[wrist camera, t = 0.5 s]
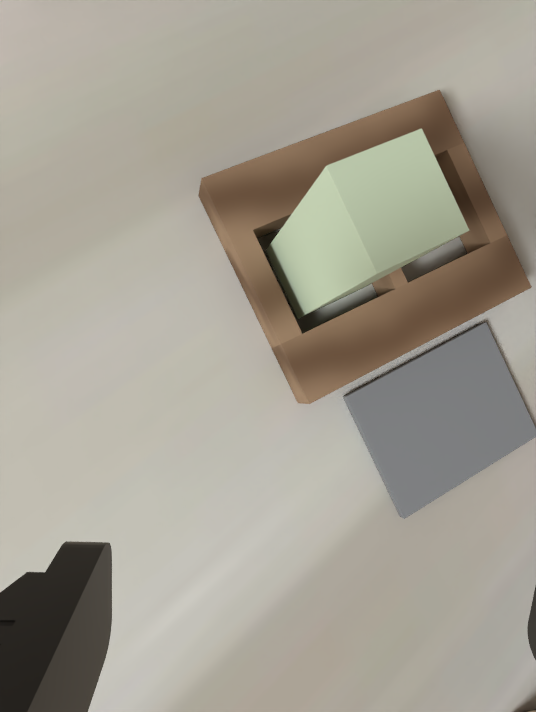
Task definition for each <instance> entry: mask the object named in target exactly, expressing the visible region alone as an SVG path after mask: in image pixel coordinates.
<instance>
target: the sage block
mask: <svg viewBox="0 0 536 712" xmlns="http://www.w3.org/2000/svg"><path fill="white" fill-rule="evenodd" d="M468 231H470V230H469V228H468V226H467V224H466V222H465V220H464V218H463V216H462V213H461V211H460V209H459V207H458V205H457V203H456V201H455V198H454V196H453V194H452V192H451V190H450V188H449V186H448V183H447V181H446V179H445V177H444V175H443V173H442V171H441V168H440V166H439V164H438V162H437V160H436V158H435V156H434V153H433V151H432V149H431V147H430V145H429V143H428V141H427V139H426V136H425V134H424V132H423V130H422V128H421V129H419V130H416V131H414V132H411V133H408V134H406V135H403V136H401V137H398V138H396V139H393V140H391V141H388V142H385V143H383V144H380V145H378V146H375V147H373V148H370V149H368V150H365V151H363V152H360V153H357V154H355V155H352V156H350V157H347V158H345V159H342V160H340V161H337V162H334V163H332V164H329V165H327V166H326V167H325V168H324V170H323V171H322V172H321V174H320V175H319V177H318V178H317V179H316V181H315V182H314V184H313V185H312V186H311V188H310V189H309V191H308V192H307V193H306V195H305V196H304V198H303V199H302V200H301V202H300V203H299V205H298V206H297V207H296V209H295V210H294V212H293V213H292V214H291V216H290V217H289V219H288V220H287V221H286V223H285V224H284V226H283V227H282V228H281V230H280V231H279V233H278V234H277V235H276V237H275V238H274V240H273V241H272V242H271V244H270V245H269V247H268V248H267V249H266V253H267V255H268V258H269V260H270V262H271V264H272V266H273V268H274V270H275V272H276V274H277V276H278V278H279V281H280V283H281V285H282V287H283V289H284V291H285V293H286V295H287V297H288V299H289V301H290V304H291V306H292V308H293V310H294V312H295V314H296V316H297V318H298V319H299V318H301V317H303V316H305V315H307V314H309V313H311V312H314V311H316V310H318V309H320V308H322V307H324V306H326V305H328V304H330V303H333V302H335V301H337V300H339V299H341V298H343V297H345V296H347V295H349V294H352V293H354V292H356V291H358V290H360V289H362V288H364V287H366V286H367V285H369V284H371V283H373V282H375V281H377V280H379V279H380V278H382V277H384V276H386V275H388V274H390V273H392V272H393V271H395V270H397V269H399V268H401V267H403V266H405V265H406V264H408V263H410V262H412V261H414V260H416V259H418V258H419V257H421V256H423V255H425V254H427V253H429V252H431V251H432V250H434V249H436V248H438V247H440V246H442V245H444V244H445V243H447V242H449V241H451V240H453V239H455V238H457V237H458V236H460V235H462V234H464V233H466V232H468Z"/></svg>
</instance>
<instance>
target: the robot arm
mask: <svg viewBox="0 0 536 712" xmlns="http://www.w3.org/2000/svg"><path fill="white" fill-rule="evenodd" d="M111 623H112V552H111V546H110V543H103V542H65V543H64V544H63V545H62V546H61V548H60V549H59V551H58V552H57V554H56V556H55V557H54V559H53V561H52V562H51V564H50V565H49V567H48V569H47V570H46V572H45V573H44V572H27V573H26V574H24V575H23V576H22V577H20V578H19V579H18V580H16V581H15V582H14V583H12V584H11V585H10V586H8V587H7V588H6V589H4V590H3V591H2V592H0V712H88V709H89V706H90V703H91V700H92V697H93V694H94V691H95V688H96V685H97V682H98V679H99V676H100V673H101V670H102V667H103V664H104V661H105V658H106V654H107V650H108V645H109V639H110V633H111ZM528 639H529V644H530V648H531V650H532V653H533V656H534V658H535V660H536V587H535V592H534V597H533V602H532V607H531V611H530V616H529V621H528Z"/></svg>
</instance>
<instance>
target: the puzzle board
mask: <svg viewBox="0 0 536 712" xmlns="http://www.w3.org/2000/svg"><path fill="white" fill-rule="evenodd" d="M421 128H422V130H423V132H424V134H425V136H426V139H427V141H428V143H429V145H430V147H431V149H432V151H433V153H434V156H435V158H436V160H437V162H438V164H439V166H440V168H441V171H442V173H443V175H444V177H445V179H446V181H447V183H448V186H449V188H450V190H451V192H452V194H453V196H454V198H455V201H456V203H457V205H458V207H459V209H460V211H461V213H462V216H463V218H464V220H465V222H466V224H467V226H468V228H469V230H470V231H468V232H466V233H464V234H462V235H460V238H461V241H462V243H463V245H464V247H465V249H466V251H467V253H468V254H466V255H464V256H462V257H460V258H458V259H456V260H453V261H451V262H449V263H447V264H445V265H443V266H441V267H439V268H437V269H435V270H433V271H431V272H429V273H427V274H424V275H422V276H420V277H418V278H416V279H414V280H412V281H410V282H407V280H406V277H405V275H404V273H403V271H402V269H401V268H399V269H397V270H395V271H393V272H392V273H390V274H388V275H386V276H384V277H382V278H380V279H379V280H377V281H375V282H373V283H372V284H373V287H374V289H375V291H376V293H377V295H378V297H377V298H375V299H373V300H371V301H368V302H366V303H364V304H362V305H360V306H358V307H356V308H354V309H352V310H350V311H348V312H346V313H344V314H342V315H339V316H337V317H335V318H333V319H331V320H329V321H327V322H325V323H323V324H321V325H319V326H317V327H315V328H312V329H310V330H308V331H306V332H304V333H302V332H301V330H300V328H299V326H298V324H297V321H296V319H295V317H294V315H293V313H292V311H291V309H290V307H289V305H288V303H287V301H286V298H285V296H284V294H283V292H282V290H281V288H280V286H279V284H278V282H277V280H276V277H275V275H274V273H273V271H272V269H271V267H270V265H269V263H268V261H267V259H266V257H265V254H264V252H263V250H262V248H261V246H260V244H259V242H258V240H257V238H258V237H261V236H263V235H265V234H268V233H270V232H273V231H275V230H277V229H280V228H282V227H283V226H284V224H285V223H286V221H287V220H288V219H289V217H290V216H291V214H292V213H293V212H294V210H295V209H296V207H297V206H298V205H299V203H300V202H301V200H302V199H303V198H304V196H305V195H306V193H307V192H308V191H309V189H310V188H311V186H312V185H313V184H314V182H315V181H316V179H317V178H318V177H319V175H320V174H321V172H322V171H323V170H324V168H325V167H326V166H327V165H329V164H332V163H334V162H337V161H340V160H342V159H345V158H347V157H350V156H352V155H355V154H357V153H360V152H363V151H365V150H368V149H370V148H373V147H375V146H378V145H380V144H383V143H385V142H388V141H391V140H393V139H396V138H398V137H401V136H403V135H406V134H408V133H411V132H414V131H416V130H419V129H421ZM199 198H200V200H201V202H202V204H203V206H204V208H205V210H206V212H207V214H208V216H209V218H210V221H211V223H212V225H213V227H214V229H215V231H216V233H217V235H218V237H219V239H220V241H221V243H222V246H223V248H224V250H225V252H226V254H227V256H228V258H229V260H230V262H231V264H232V266H233V269H234V271H235V273H236V275H237V277H238V279H239V281H240V283H241V285H242V287H243V289H244V291H245V294H246V296H247V298H248V300H249V302H250V304H251V306H252V308H253V310H254V312H255V314H256V316H257V319H258V321H259V323H260V325H261V327H262V329H263V331H264V333H265V335H266V337H267V339H268V342H269V344H270V346H271V348H272V350H273V352H274V354H275V356H276V358H277V360H278V362H279V364H280V367H281V369H282V371H283V373H284V375H285V377H286V379H287V381H288V383H289V385H290V387H291V390H292V392H293V394H294V396H295V398H296V400H297V402H298V403H305V404H310V403H312V402H314V401H316V400H318V399H320V398H321V397H323V396H325V395H327V394H329V393H331V392H333V391H335V390H337V389H339V388H341V387H342V386H344V385H346V384H348V383H350V382H352V381H354V380H356V379H358V378H360V377H362V376H363V375H365V374H367V373H369V372H371V371H373V370H375V369H377V368H379V367H381V366H382V365H384V364H386V363H388V362H390V361H392V360H394V359H396V358H398V357H400V356H402V355H403V354H405V353H407V352H409V351H411V350H413V349H415V348H417V347H419V346H421V345H423V344H424V343H426V342H428V341H430V340H432V339H434V338H436V337H438V336H440V335H442V334H443V333H445V332H447V331H449V330H451V329H453V328H455V327H457V326H459V325H461V324H463V323H464V322H466V321H468V320H470V319H472V318H474V317H476V316H478V315H480V314H482V313H484V312H485V311H487V310H489V309H491V308H493V307H495V306H497V305H499V304H501V303H503V302H504V301H506V300H508V299H510V298H512V297H514V296H516V295H518V294H520V293H522V292H524V291H525V290H527V289H529V288H531V285H530V283H529V281H528V279H527V277H526V274H525V272H524V270H523V268H522V266H521V264H520V262H519V259H518V257H517V255H516V253H515V251H514V249H513V246H512V244H511V242H510V240H509V238H508V236H507V234H506V231H505V229H504V227H503V225H502V223H501V221H500V219H499V216H498V214H497V212H496V210H495V208H494V206H493V203H492V201H491V199H490V197H489V195H488V193H487V191H486V188H485V186H484V184H483V182H482V180H481V178H480V176H479V173H478V171H477V169H476V167H475V165H474V163H473V161H472V158H471V156H470V154H469V152H468V150H467V148H466V145H465V143H464V141H463V139H462V137H461V135H460V133H459V130H458V128H457V126H456V124H455V122H454V120H453V118H452V115H451V113H450V111H449V109H448V107H447V105H446V102H445V100H444V98H443V96H442V94H441V92H440V90H437V91H435V92H432V93H429V94H427V95H424V96H421V97H419V98H416V99H413V100H411V101H408V102H405V103H403V104H400V105H397V106H394V107H392V108H389V109H386V110H384V111H381V112H378V113H376V114H373V115H370V116H368V117H365V118H362V119H360V120H357V121H354V122H352V123H349V124H346V125H343V126H341V127H338V128H335V129H333V130H330V131H327V132H325V133H322V134H319V135H317V136H314V137H311V138H309V139H306V140H303V141H301V142H298V143H295V144H292V145H290V146H287V147H284V148H282V149H279V150H276V151H274V152H271V153H268V154H266V155H263V156H260V157H258V158H255V159H252V160H249V161H247V162H244V163H241V164H239V165H236V166H233V167H231V168H228V169H225V170H223V171H220V172H217V173H215V174H212V175H209V176H207V177H204V178H202V179H201V185H200V190H199Z"/></svg>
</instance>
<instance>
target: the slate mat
mask: <svg viewBox="0 0 536 712" xmlns="http://www.w3.org/2000/svg"><path fill="white" fill-rule="evenodd" d="M343 398H344V400H345V402H346V404H347V406H348V408H349V410H350V412H351V415H352V417H353V419H354V421H355V423H356V425H357V427H358V429H359V431H360V433H361V436H362V438H363V440H364V442H365V444H366V446H367V448H368V450H369V452H370V454H371V457H372V459H373V461H374V463H375V465H376V467H377V469H378V471H379V473H380V475H381V477H382V480H383V482H384V484H385V486H386V488H387V490H388V492H389V494H390V496H391V498H392V501H393V503H394V505H395V507H396V509H397V511H398V513H399V515H400V517H402V518H404V519H405V518H406V517H408V516H410V515H411V514H413V513H414V512H416V511H418V510H419V509H421V508H422V507H424V506H426V505H427V504H429V503H430V502H432V501H434V500H435V499H437V498H438V497H440V496H442V495H443V494H445V493H446V492H448V491H450V490H451V489H453V488H454V487H456V486H458V485H459V484H461V483H462V482H464V481H466V480H467V479H469V478H470V477H472V476H474V475H475V474H477V473H478V472H480V471H482V470H483V469H485V468H486V467H488V466H490V465H491V464H493V463H494V462H496V461H498V460H499V459H501V458H503V457H504V456H506V455H507V454H509V453H511V452H512V451H514V450H515V449H517V448H519V447H520V446H522V445H523V444H525V443H527V442H528V441H530V440H531V439H533V438H535V437H536V428H535V425H534V423H533V421H532V419H531V417H530V415H529V413H528V411H527V408H526V406H525V404H524V402H523V400H522V398H521V396H520V393H519V391H518V389H517V387H516V385H515V383H514V381H513V378H512V376H511V374H510V372H509V370H508V368H507V366H506V364H505V361H504V359H503V357H502V355H501V353H500V351H499V349H498V346H497V344H496V342H495V340H494V338H493V336H492V334H491V331H490V329H489V327H488V325H487V323H486V322H485V323H481V324H479V325H477V326H475V327H473V328H471V329H469V330H467V331H465V332H464V333H462V334H460V335H458V336H456V337H454V338H452V339H450V340H449V341H447V342H445V343H443V344H441V345H439V346H437V347H435V348H433V349H432V350H430V351H428V352H426V353H424V354H422V355H420V356H418V357H416V358H415V359H413V360H411V361H409V362H407V363H405V364H403V365H401V366H400V367H398V368H396V369H394V370H392V371H390V372H388V373H386V374H384V375H383V376H381V377H379V378H377V379H375V380H373V381H371V382H369V383H367V384H366V385H364V386H362V387H360V388H358V389H356V390H354V391H352V392H351V393H349V394H347V395H345V396H343Z"/></svg>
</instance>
